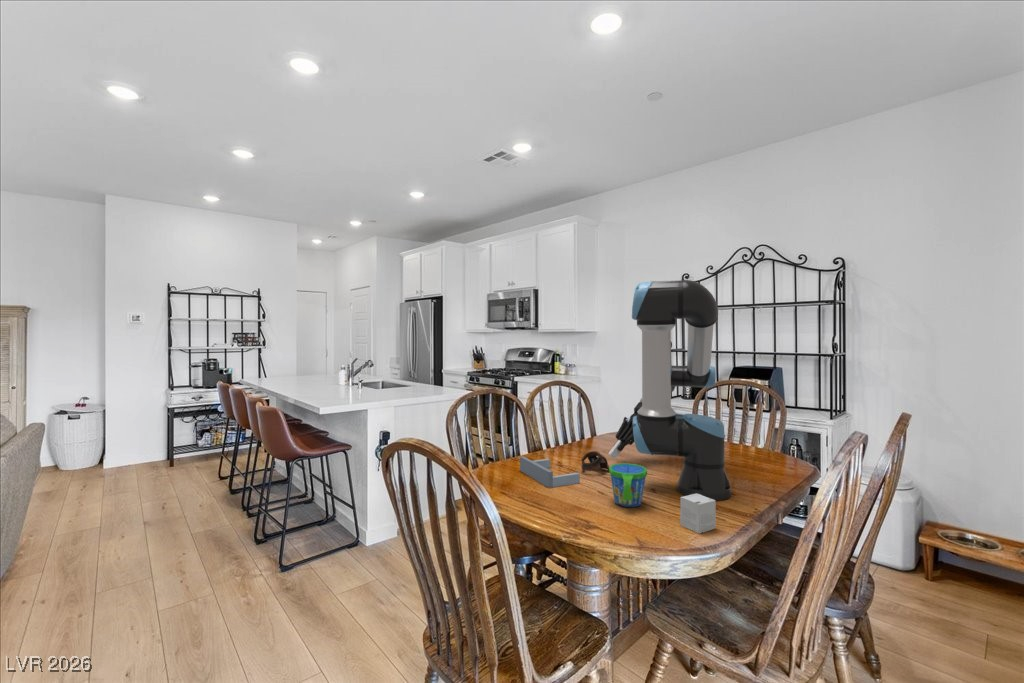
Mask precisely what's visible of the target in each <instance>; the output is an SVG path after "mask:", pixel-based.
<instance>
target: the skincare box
mask: <svg viewBox="0 0 1024 683" xmlns="http://www.w3.org/2000/svg"><path fill="white" fill-rule="evenodd" d="M716 501H717V500H713V499H710V498H708V497H705V496H703V495H700V494H697V493H696V494H692V495H688V496H685V495H683V496H680V511H679V512H680V514H679V515H680V517H679V519H680V522H679V523H680V526H682V527H683V528H686V529H688V530H690V529H691V531H692V530H693V531H692V532H695V533H697V532H698V533H697V534H699V533H700V534H702V532H703V533H705V532H709V531H712V530H715V528H717V527H716V525H717V523H716V521H717V520H716V518H717V517H716V514H717V513H716V512H717V510H716V509H717V508H716Z"/></svg>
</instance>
